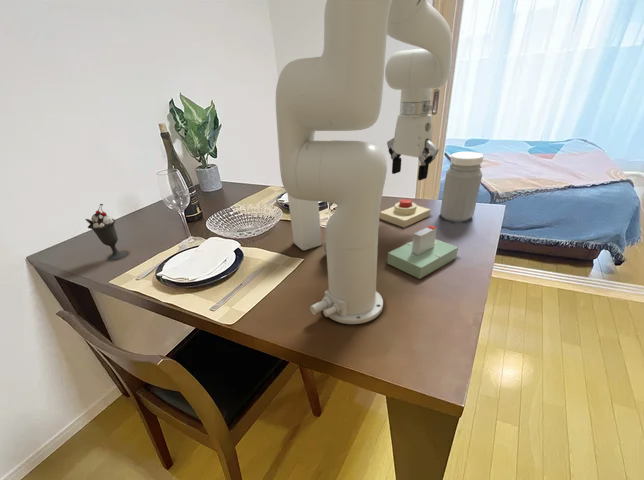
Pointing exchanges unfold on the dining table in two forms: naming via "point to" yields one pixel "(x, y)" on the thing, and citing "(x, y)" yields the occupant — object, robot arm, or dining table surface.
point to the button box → (404, 214)
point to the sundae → (105, 232)
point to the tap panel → (422, 258)
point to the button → (405, 203)
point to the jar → (461, 186)
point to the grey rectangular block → (424, 240)
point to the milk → (305, 223)
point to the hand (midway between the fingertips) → (408, 175)
